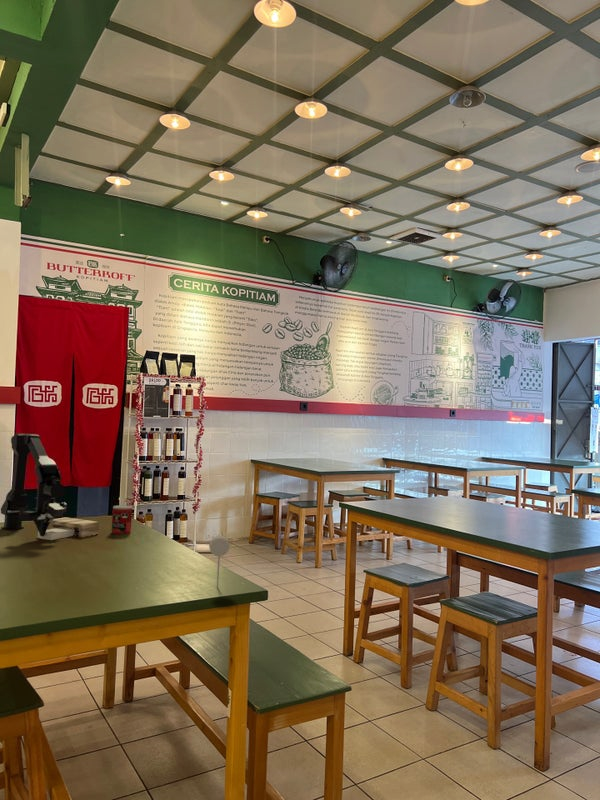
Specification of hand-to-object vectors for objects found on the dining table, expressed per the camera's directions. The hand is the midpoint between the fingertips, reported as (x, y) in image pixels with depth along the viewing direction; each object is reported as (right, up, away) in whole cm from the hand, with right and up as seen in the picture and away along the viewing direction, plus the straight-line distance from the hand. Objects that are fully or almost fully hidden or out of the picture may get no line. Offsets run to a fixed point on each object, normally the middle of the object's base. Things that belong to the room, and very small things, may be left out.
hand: (42, 536), depth 231 cm
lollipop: (+75, -3, -55) cm, 93 cm away
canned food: (+24, -4, +21) cm, 32 cm away
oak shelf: (+6, -2, +15) cm, 16 cm away
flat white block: (+3, -2, +6) cm, 7 cm away
